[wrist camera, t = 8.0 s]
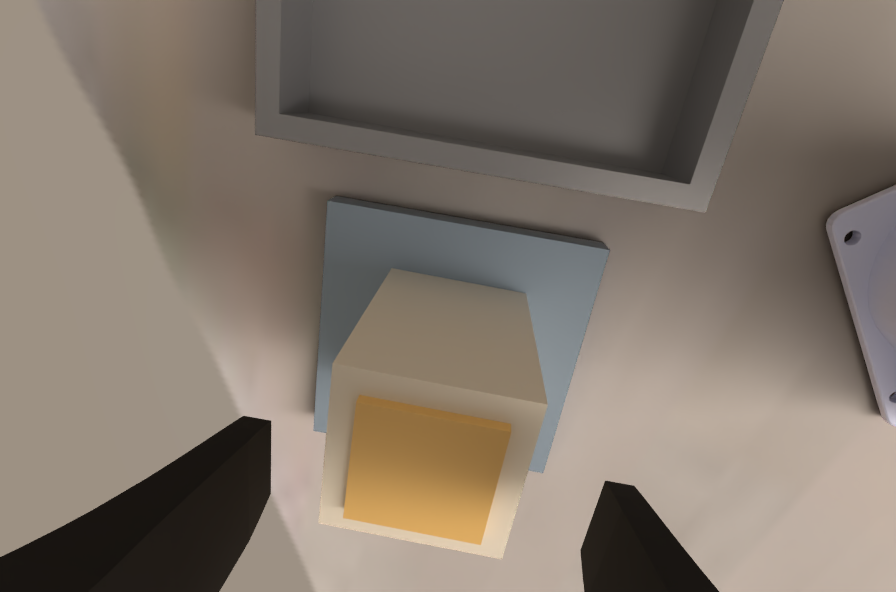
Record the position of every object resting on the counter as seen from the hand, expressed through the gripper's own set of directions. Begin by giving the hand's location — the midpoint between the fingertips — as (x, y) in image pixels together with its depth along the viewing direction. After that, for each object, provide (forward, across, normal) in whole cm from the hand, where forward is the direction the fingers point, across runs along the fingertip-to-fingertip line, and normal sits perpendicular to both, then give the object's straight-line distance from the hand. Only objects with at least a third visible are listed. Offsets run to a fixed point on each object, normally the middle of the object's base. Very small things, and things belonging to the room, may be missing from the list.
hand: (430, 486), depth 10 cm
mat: (+9, 0, +1) cm, 9 cm away
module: (+8, 0, +1) cm, 8 cm away
